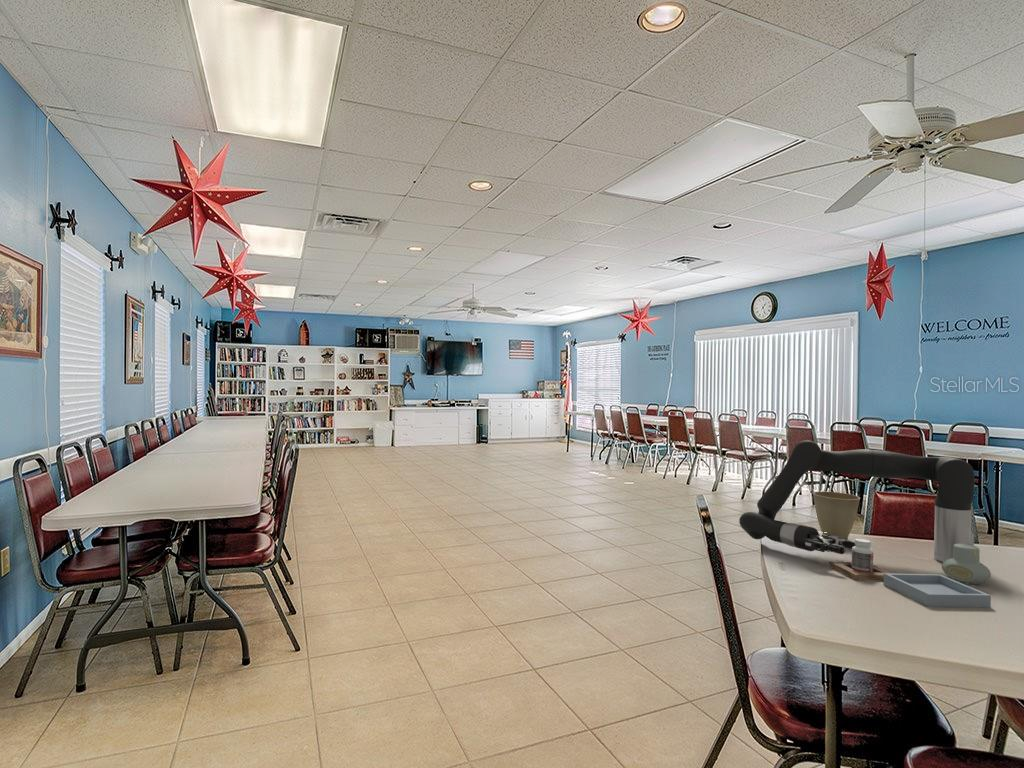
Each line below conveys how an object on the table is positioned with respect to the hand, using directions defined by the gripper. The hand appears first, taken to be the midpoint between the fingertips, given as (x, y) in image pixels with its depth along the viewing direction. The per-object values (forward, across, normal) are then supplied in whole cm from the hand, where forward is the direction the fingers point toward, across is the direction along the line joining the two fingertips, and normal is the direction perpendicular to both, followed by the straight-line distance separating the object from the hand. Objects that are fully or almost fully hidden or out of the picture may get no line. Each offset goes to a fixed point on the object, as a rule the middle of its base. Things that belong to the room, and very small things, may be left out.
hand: (851, 548), depth 166 cm
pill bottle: (+3, 0, +7) cm, 7 cm away
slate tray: (+22, -2, +6) cm, 23 cm away
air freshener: (+21, +21, +7) cm, 30 cm away
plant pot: (-23, +35, +7) cm, 42 cm away
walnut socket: (+3, 0, +6) cm, 7 cm away
